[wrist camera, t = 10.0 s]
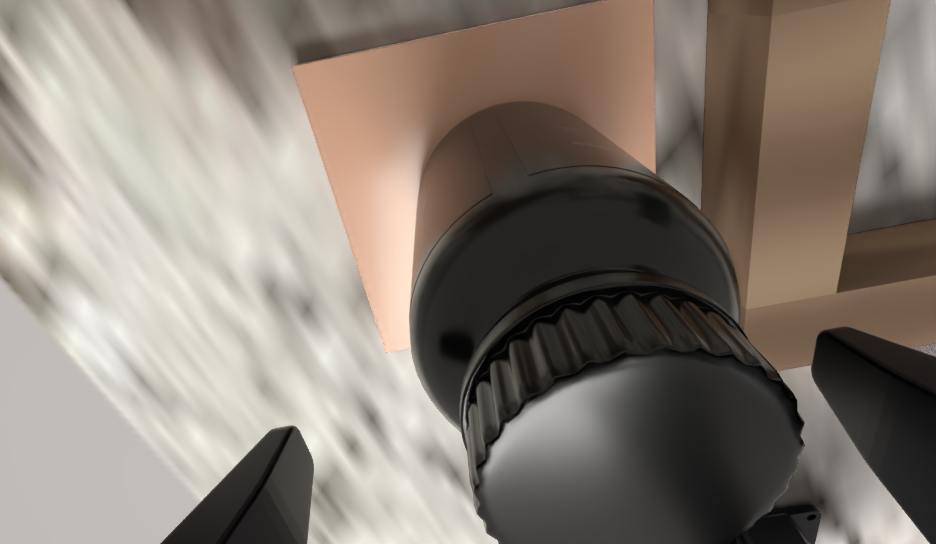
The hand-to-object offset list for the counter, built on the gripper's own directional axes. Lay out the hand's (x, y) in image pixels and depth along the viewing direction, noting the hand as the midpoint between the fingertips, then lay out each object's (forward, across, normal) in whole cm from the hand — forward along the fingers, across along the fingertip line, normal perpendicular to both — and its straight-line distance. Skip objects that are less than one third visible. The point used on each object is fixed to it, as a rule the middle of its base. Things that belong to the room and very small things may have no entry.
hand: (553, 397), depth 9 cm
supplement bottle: (+10, -1, 0) cm, 10 cm away
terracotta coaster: (+11, 0, 0) cm, 11 cm away
